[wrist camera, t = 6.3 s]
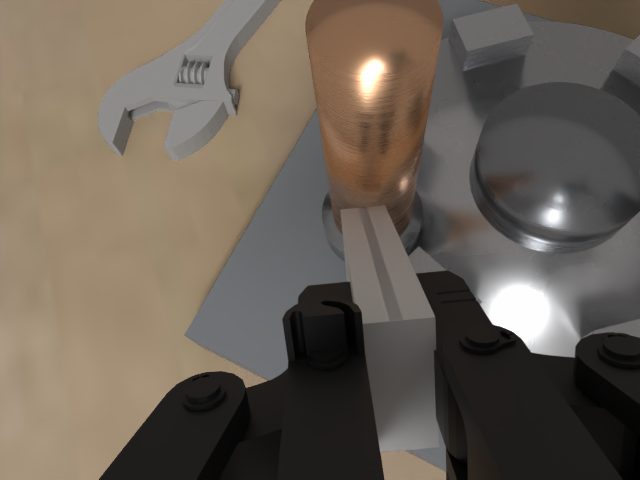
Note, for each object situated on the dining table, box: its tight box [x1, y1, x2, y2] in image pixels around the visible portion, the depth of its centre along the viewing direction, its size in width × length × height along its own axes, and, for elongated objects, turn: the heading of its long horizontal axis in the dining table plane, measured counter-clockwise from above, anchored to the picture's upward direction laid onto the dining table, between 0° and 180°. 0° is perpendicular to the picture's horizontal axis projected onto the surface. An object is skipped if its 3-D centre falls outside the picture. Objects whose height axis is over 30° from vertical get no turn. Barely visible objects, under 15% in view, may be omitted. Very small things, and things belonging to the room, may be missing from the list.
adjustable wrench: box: [98, 0, 281, 161], centre depth 31 cm, size 25×6×2 cm, turn 145°
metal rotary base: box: [305, 0, 640, 358], centre depth 17 cm, size 17×16×13 cm
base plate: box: [185, 0, 556, 471], centre depth 24 cm, size 22×22×2 cm
